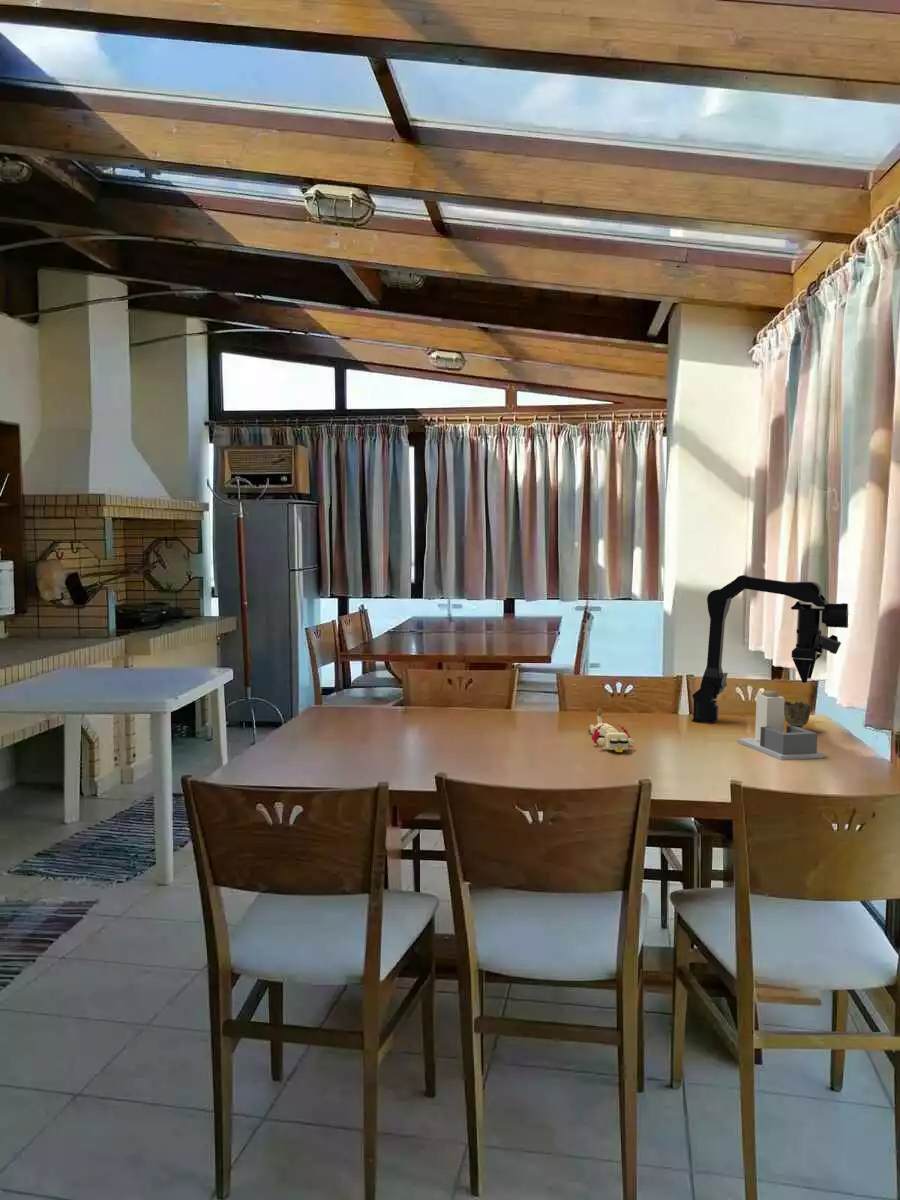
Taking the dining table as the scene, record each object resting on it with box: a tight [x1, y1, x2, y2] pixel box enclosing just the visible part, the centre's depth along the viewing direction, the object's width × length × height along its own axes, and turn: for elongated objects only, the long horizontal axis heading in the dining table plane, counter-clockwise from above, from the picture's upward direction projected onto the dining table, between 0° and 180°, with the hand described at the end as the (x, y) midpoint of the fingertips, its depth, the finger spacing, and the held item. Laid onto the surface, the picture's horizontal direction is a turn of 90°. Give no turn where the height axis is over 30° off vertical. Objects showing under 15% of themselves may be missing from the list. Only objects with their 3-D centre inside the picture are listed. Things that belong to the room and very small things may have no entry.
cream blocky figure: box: [587, 707, 635, 753], centre depth 239 cm, size 10×9×25 cm
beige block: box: [754, 689, 785, 741], centre depth 239 cm, size 5×5×13 cm
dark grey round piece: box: [784, 700, 812, 729], centre depth 259 cm, size 8×7×8 cm
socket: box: [736, 725, 824, 761], centre depth 235 cm, size 20×12×6 cm, turn 13°
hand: (806, 680), depth 257 cm, fingers open, 9 cm apart
